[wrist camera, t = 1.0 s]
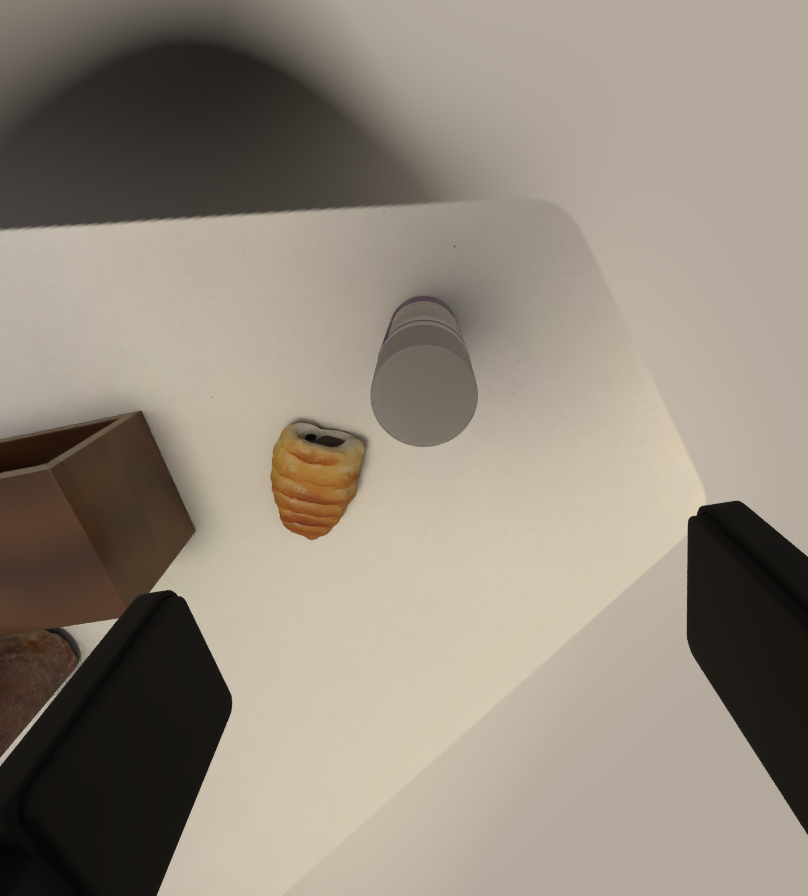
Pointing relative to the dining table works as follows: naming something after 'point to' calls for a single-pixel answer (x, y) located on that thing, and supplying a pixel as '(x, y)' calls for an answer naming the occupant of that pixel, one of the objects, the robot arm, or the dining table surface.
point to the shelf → (84, 523)
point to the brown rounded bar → (29, 678)
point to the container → (423, 376)
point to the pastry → (314, 477)
